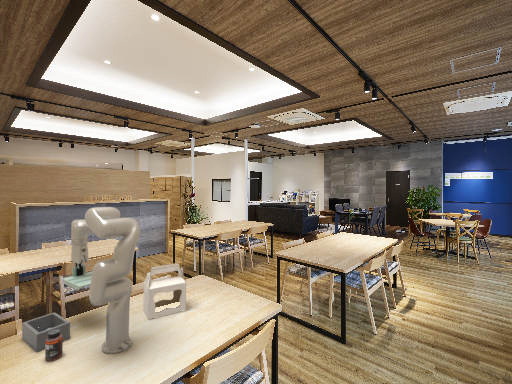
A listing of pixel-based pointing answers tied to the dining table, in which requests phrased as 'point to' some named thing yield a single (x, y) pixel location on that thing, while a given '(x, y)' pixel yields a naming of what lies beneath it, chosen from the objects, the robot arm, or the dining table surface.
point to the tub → (44, 330)
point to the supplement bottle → (53, 345)
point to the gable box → (164, 285)
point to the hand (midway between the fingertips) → (78, 274)
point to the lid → (78, 279)
